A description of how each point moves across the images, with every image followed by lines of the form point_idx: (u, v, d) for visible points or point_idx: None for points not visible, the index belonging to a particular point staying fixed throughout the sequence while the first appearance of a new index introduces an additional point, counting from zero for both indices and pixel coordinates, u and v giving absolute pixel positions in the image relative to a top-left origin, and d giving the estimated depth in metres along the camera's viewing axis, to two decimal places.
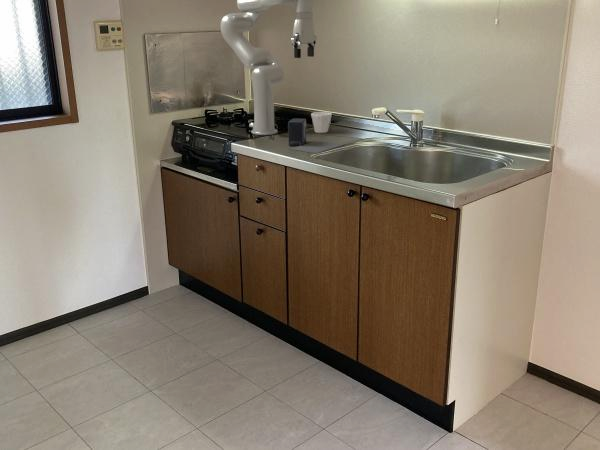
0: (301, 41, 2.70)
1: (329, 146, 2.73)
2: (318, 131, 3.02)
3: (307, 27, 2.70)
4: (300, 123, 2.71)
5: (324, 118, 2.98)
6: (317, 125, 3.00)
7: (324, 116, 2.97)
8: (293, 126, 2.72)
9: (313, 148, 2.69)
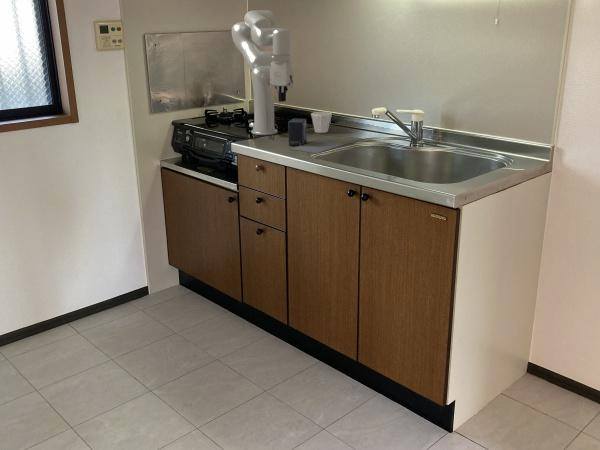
0: None
1: (329, 146, 2.73)
2: (318, 131, 3.02)
3: None
4: (300, 123, 2.71)
5: (324, 118, 2.98)
6: (317, 125, 3.00)
7: (324, 116, 2.97)
8: (293, 126, 2.72)
9: (313, 148, 2.69)
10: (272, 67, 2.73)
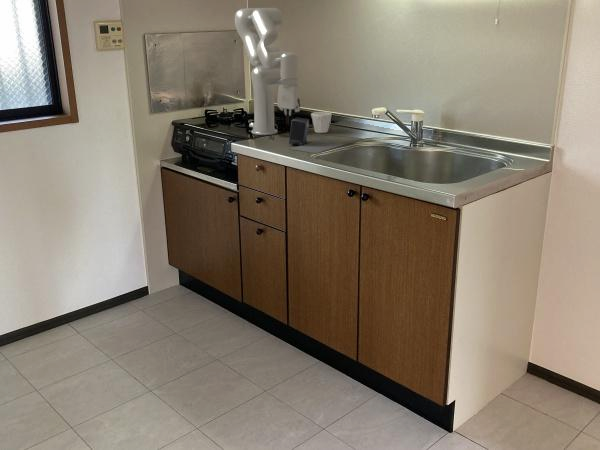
0: None
1: (329, 146, 2.73)
2: (318, 131, 3.02)
3: None
4: (303, 123, 2.71)
5: (324, 118, 2.98)
6: (317, 125, 3.00)
7: (324, 116, 2.97)
8: (296, 125, 2.72)
9: (313, 148, 2.69)
10: (280, 90, 2.74)
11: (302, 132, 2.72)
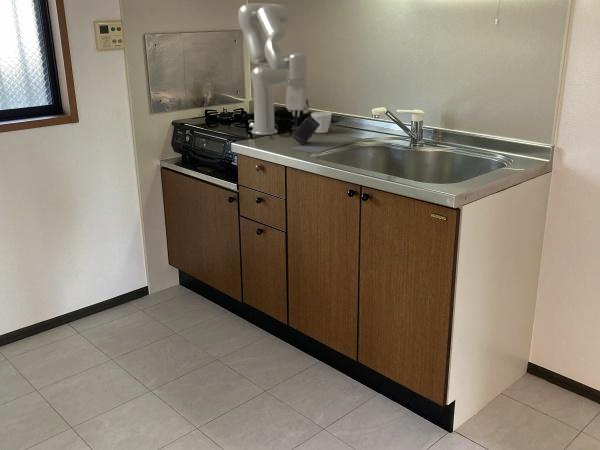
0: None
1: (329, 146, 2.73)
2: (318, 131, 3.02)
3: None
4: (314, 127, 2.71)
5: (324, 118, 2.98)
6: None
7: (324, 116, 2.97)
8: (307, 125, 2.71)
9: (313, 148, 2.69)
10: (288, 91, 2.72)
11: (309, 134, 2.72)
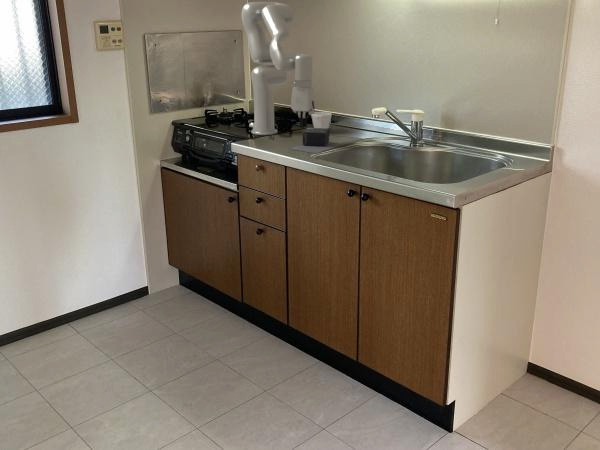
0: None
1: (329, 146, 2.73)
2: None
3: None
4: (324, 145, 2.72)
5: (324, 118, 2.98)
6: (317, 125, 3.00)
7: (324, 116, 2.97)
8: (321, 138, 2.71)
9: (313, 148, 2.69)
10: (294, 92, 2.70)
11: (315, 144, 2.73)
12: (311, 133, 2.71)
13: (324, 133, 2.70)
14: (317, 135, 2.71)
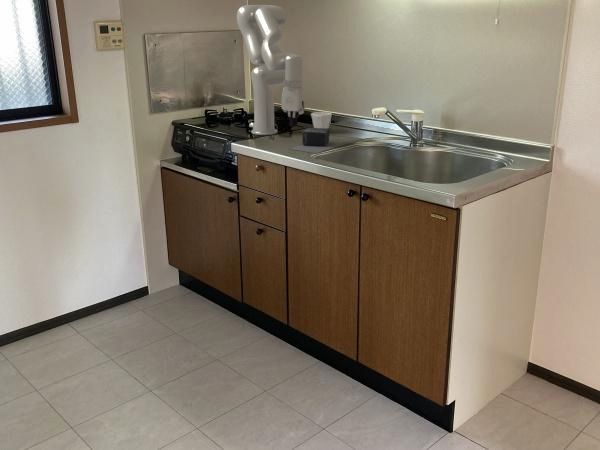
0: None
1: (329, 146, 2.73)
2: None
3: None
4: (324, 144, 2.72)
5: (324, 118, 2.98)
6: (317, 125, 3.00)
7: (324, 116, 2.97)
8: (321, 138, 2.71)
9: (313, 148, 2.69)
10: (284, 92, 2.73)
11: (315, 144, 2.73)
12: (311, 133, 2.71)
13: (324, 133, 2.70)
14: (317, 135, 2.71)
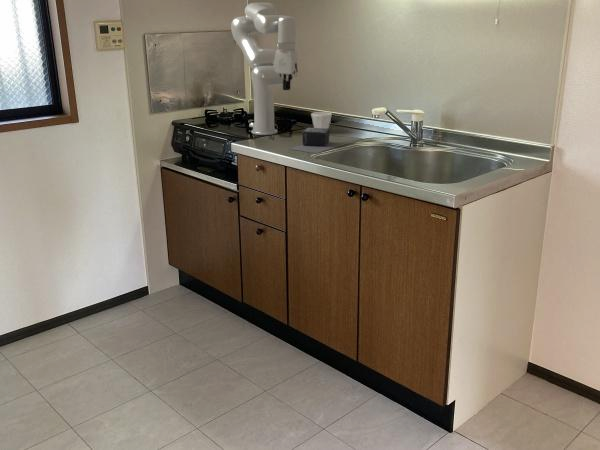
0: None
1: (329, 146, 2.73)
2: None
3: None
4: (324, 144, 2.72)
5: (324, 118, 2.98)
6: (317, 125, 3.00)
7: (324, 116, 2.97)
8: (321, 138, 2.71)
9: (313, 148, 2.69)
10: (277, 55, 2.70)
11: (315, 144, 2.73)
12: (311, 133, 2.71)
13: (324, 133, 2.70)
14: (317, 135, 2.71)
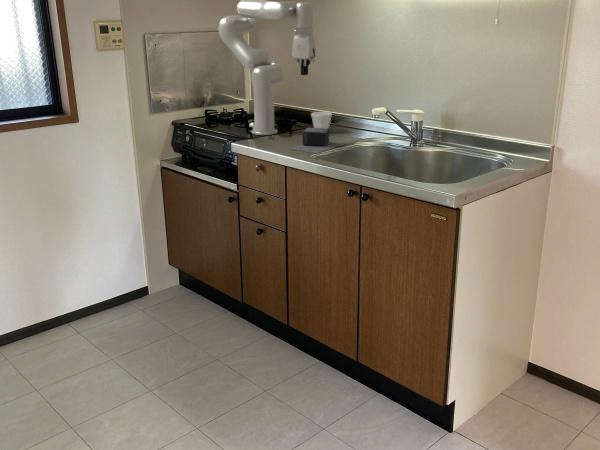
0: None
1: (329, 146, 2.73)
2: None
3: None
4: (324, 144, 2.72)
5: (324, 118, 2.98)
6: (317, 125, 3.00)
7: (324, 116, 2.97)
8: (321, 138, 2.71)
9: (313, 148, 2.69)
10: (295, 40, 2.74)
11: (315, 144, 2.73)
12: (311, 133, 2.71)
13: (324, 133, 2.70)
14: (317, 135, 2.71)
